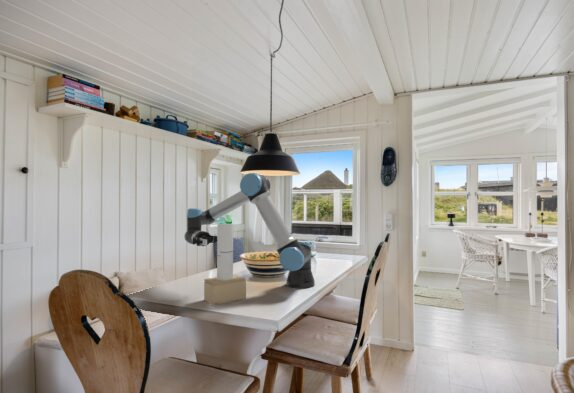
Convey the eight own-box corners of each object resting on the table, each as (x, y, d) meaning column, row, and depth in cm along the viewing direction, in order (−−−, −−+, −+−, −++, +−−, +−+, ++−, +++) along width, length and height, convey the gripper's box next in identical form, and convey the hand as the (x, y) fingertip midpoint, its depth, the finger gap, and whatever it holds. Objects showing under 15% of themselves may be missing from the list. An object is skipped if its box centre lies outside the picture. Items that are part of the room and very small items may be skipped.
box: (204, 299, 148) (204, 282, 148) (235, 293, 157) (235, 277, 158) (213, 304, 140) (213, 286, 140) (246, 298, 149) (246, 280, 150)
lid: (204, 281, 148) (204, 278, 148) (234, 276, 158) (234, 274, 158) (213, 285, 140) (213, 283, 140) (245, 280, 150) (245, 278, 150)
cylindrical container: (228, 281, 145) (229, 224, 145) (214, 279, 147) (214, 224, 147) (235, 277, 152) (235, 223, 152) (221, 276, 153) (221, 223, 154)
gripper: (223, 243, 178) (243, 247, 161) (177, 247, 162) (194, 251, 145) (223, 230, 178) (243, 232, 161) (177, 232, 162) (194, 235, 146)
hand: (220, 241), depth 153 cm, fingers open, 13 cm apart
